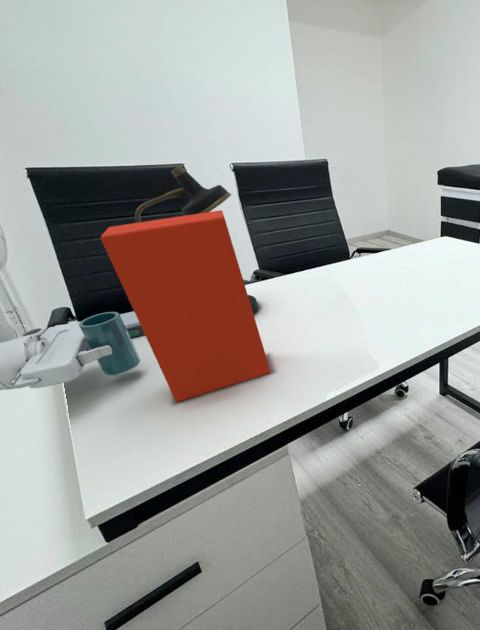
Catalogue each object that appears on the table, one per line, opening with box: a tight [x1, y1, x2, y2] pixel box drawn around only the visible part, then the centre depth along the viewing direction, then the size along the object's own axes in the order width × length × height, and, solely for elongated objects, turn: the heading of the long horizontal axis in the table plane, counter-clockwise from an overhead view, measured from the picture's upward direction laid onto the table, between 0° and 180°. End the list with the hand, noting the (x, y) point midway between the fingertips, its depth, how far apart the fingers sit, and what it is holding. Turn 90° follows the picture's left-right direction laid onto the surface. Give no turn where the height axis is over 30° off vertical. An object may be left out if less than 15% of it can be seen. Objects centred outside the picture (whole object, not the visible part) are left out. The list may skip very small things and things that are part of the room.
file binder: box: [100, 209, 272, 403], centre depth 72 cm, size 8×17×32 cm, turn 118°
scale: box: [119, 310, 145, 339], centre depth 101 cm, size 12×11×4 cm
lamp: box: [134, 165, 260, 316], centre depth 97 cm, size 16×22×38 cm
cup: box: [78, 311, 141, 376], centre depth 77 cm, size 6×6×11 cm
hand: (115, 339), depth 77 cm, fingers closed on cup, 6 cm apart
